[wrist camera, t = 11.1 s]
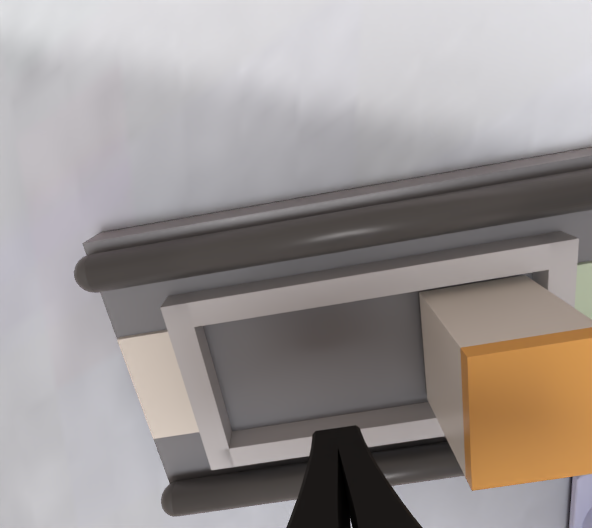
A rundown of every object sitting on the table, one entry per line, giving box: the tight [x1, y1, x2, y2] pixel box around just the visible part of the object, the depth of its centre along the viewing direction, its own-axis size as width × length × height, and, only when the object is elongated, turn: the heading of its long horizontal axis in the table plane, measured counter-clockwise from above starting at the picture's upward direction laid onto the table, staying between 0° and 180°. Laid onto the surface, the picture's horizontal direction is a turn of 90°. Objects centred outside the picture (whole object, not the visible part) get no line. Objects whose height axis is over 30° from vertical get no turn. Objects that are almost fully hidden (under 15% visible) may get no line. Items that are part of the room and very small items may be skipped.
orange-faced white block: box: [419, 275, 592, 491], centre depth 14 cm, size 4×5×4 cm
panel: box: [74, 147, 592, 516], centre depth 17 cm, size 20×13×3 cm, turn 100°
